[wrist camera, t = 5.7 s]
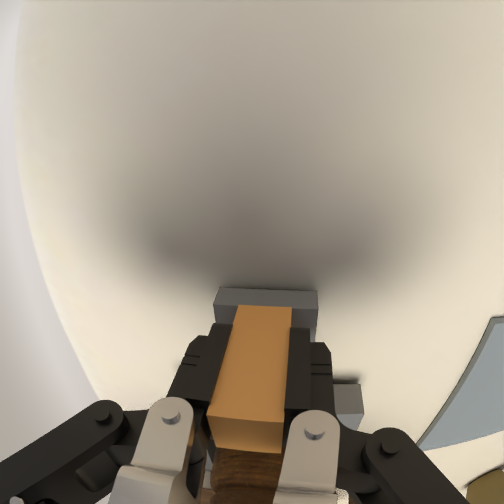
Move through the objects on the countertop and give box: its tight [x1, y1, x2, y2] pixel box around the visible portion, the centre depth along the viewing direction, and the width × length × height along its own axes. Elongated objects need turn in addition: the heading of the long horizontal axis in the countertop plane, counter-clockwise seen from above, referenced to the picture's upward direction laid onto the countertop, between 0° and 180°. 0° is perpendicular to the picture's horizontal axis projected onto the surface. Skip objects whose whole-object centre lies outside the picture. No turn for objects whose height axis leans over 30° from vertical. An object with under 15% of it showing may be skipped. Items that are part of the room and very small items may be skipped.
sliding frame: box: [205, 287, 364, 471], centre depth 13 cm, size 16×10×6 cm, turn 2°
